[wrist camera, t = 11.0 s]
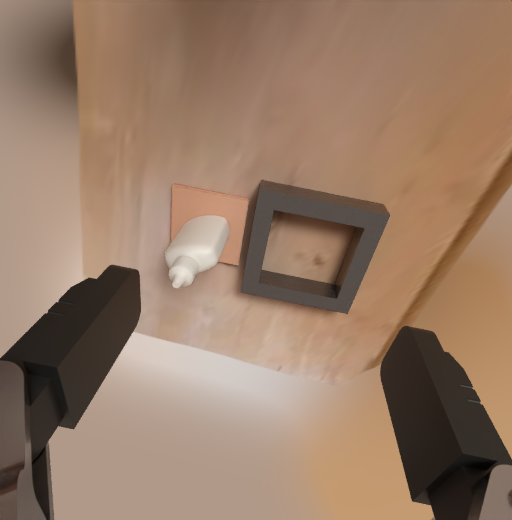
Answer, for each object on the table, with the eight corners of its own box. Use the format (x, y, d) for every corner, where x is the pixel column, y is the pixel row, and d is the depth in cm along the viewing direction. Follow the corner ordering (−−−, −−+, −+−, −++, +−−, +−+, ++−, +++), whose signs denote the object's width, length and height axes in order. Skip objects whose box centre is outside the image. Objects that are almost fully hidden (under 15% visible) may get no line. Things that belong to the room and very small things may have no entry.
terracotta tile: (174, 183, 37) (172, 186, 37) (249, 198, 37) (248, 201, 37) (172, 248, 42) (170, 251, 41) (239, 262, 42) (238, 265, 41)
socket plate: (261, 180, 36) (259, 188, 33) (383, 204, 36) (390, 215, 33) (243, 278, 43) (240, 292, 41) (344, 299, 43) (347, 313, 41)
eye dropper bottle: (224, 249, 40) (200, 311, 30) (182, 235, 40) (143, 293, 30) (234, 219, 38) (211, 276, 28) (188, 204, 38) (148, 256, 27)
